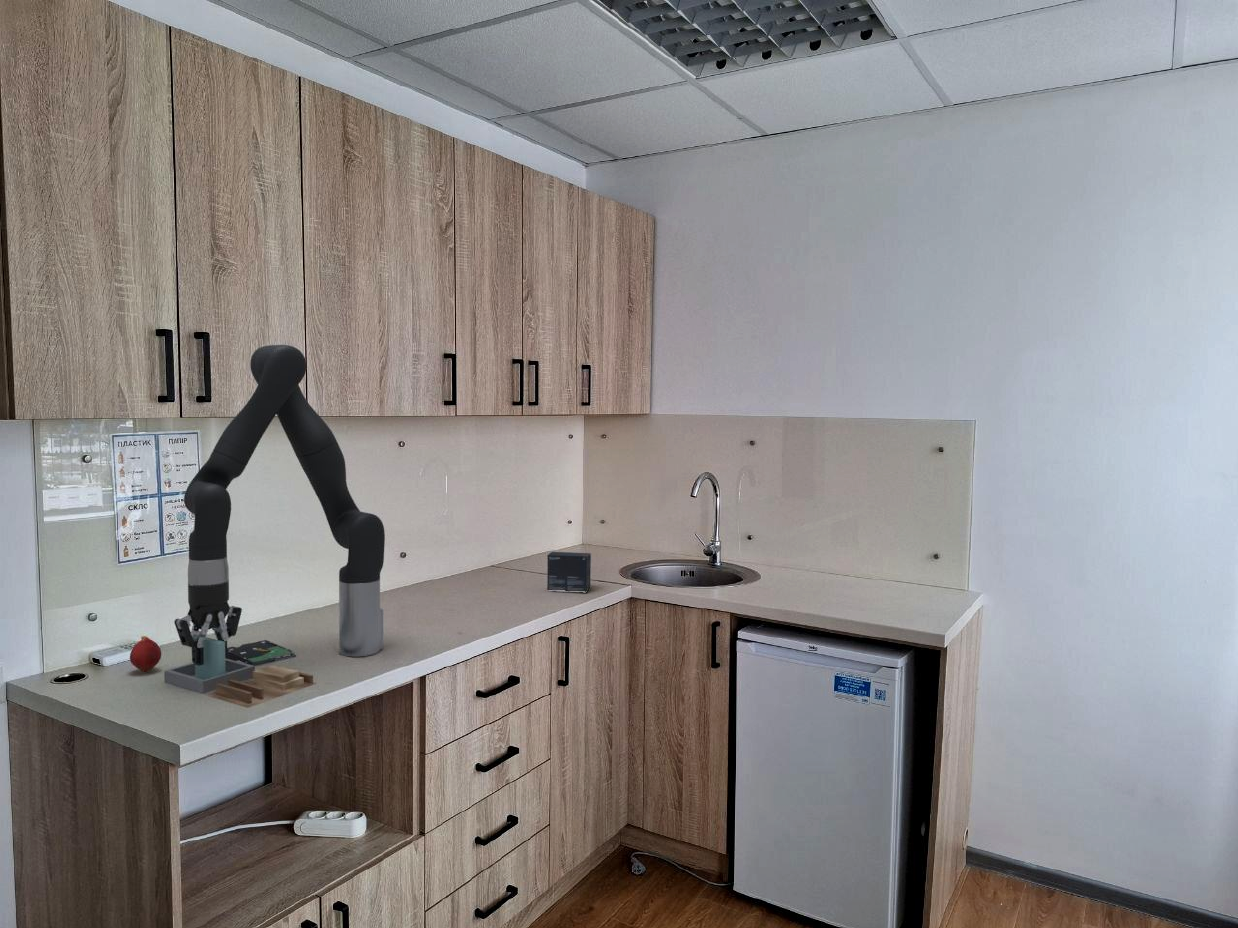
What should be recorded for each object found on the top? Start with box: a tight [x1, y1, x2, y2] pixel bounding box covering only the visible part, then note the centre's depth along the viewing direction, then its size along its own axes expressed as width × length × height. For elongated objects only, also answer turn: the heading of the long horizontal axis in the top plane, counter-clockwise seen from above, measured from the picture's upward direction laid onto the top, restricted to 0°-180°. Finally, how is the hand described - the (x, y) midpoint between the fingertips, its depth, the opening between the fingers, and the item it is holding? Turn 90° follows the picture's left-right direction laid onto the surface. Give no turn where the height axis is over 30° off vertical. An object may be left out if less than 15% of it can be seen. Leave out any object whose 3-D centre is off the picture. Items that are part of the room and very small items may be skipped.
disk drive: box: [225, 639, 297, 667], centre depth 187 cm, size 10×3×15 cm
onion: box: [129, 635, 162, 673], centre depth 177 cm, size 6×6×8 cm
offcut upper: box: [253, 665, 300, 683], centre depth 168 cm, size 4×8×1 cm, turn 67°
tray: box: [163, 658, 256, 695], centre depth 170 cm, size 12×13×4 cm
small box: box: [546, 551, 592, 592], centre depth 263 cm, size 13×7×12 cm, turn 81°
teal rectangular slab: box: [194, 636, 226, 680], centre depth 169 cm, size 1×8×9 cm, turn 60°
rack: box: [204, 665, 317, 709], centre depth 165 cm, size 16×13×3 cm
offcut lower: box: [253, 677, 304, 691], centre depth 168 cm, size 5×9×1 cm, turn 61°
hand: (209, 661), depth 169 cm, fingers open, 4 cm apart
